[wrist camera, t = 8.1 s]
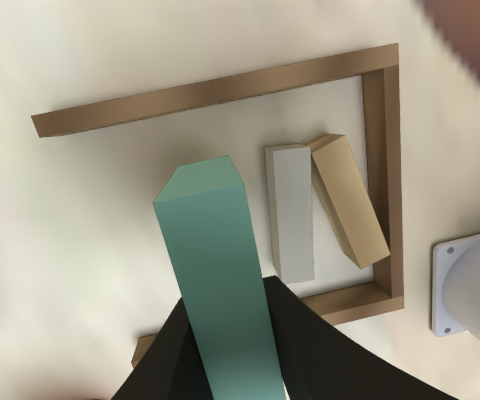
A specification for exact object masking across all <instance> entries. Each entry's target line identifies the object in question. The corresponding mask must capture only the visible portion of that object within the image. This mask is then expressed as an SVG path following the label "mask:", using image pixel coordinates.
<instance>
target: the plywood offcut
mask: <svg viewBox="0 0 480 400" xmlns="http://www.w3.org/2000/svg"><path fill="white" fill-rule="evenodd" d="M305 146H309V147H310V152H311V180H312V183H313V185H314V187H315V189H316V192H317V194H318V196H319V198H320V201H321V203H322V205H323V207H324V210H325V212H326V214H327V217H328V219H329V221H330V223H331V226H332V228H333V230H334V232H335V235H336V237H337V239H338V241H339V244H340V246H341V248H342V250H343V253H344V254H345V255H347V256H348V257H349V258H350V259H351V260H352V261H353V262H354V263H355V264H356V265H357V266H358V267H359V268H360V269H363V268H365V267H367V266H369V265H371V264H373V263H375V262H377V261H379V260H381V259H383V258H385V257H387V256H388V255H390V252H389V249H388V246H387V244H386V241H385V238H384V236H383V233H382V230H381V228H380V225H379V223H378V220H377V217H376V215H375V212H374V209H373V207H372V204H371V201H370V199H369V196H368V194H367V191H366V188H365V186H364V183H363V180H362V178H361V175H360V172H359V170H358V167H357V164H356V162H355V159H354V157H353V154H352V151H351V149H350V146H349V143H348V141H347V138H346V135H336V134H326V135H324V136H322V137H320V138H318V139H316V140H315V141H313V142H311V143H309V144H307V145H305Z"/></svg>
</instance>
